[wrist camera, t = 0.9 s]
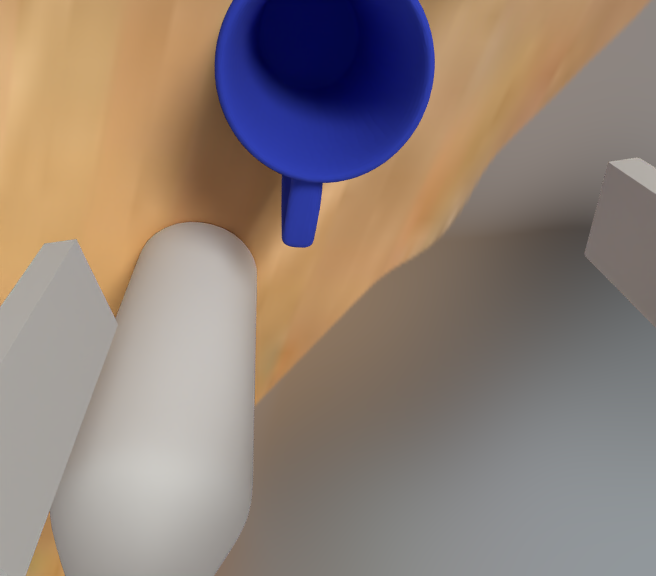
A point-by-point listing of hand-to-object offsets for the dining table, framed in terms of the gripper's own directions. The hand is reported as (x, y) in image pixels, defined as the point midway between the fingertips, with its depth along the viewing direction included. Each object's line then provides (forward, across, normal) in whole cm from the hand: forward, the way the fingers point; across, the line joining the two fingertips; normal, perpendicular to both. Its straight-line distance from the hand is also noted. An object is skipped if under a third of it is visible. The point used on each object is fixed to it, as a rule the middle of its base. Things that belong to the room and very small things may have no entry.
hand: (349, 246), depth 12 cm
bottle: (+19, -9, -12) cm, 24 cm away
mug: (+19, 0, 0) cm, 19 cm away
